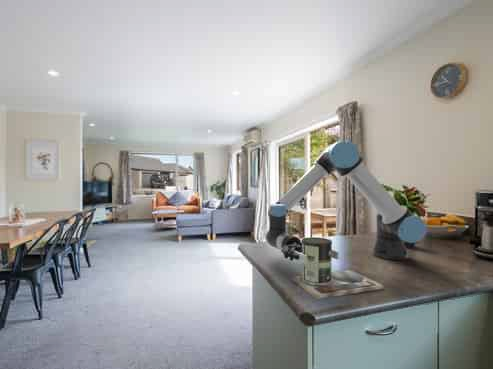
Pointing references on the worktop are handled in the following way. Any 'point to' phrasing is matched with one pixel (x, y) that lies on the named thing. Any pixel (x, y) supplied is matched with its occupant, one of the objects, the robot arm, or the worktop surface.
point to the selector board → (339, 285)
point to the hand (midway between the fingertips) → (322, 257)
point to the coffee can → (317, 261)
